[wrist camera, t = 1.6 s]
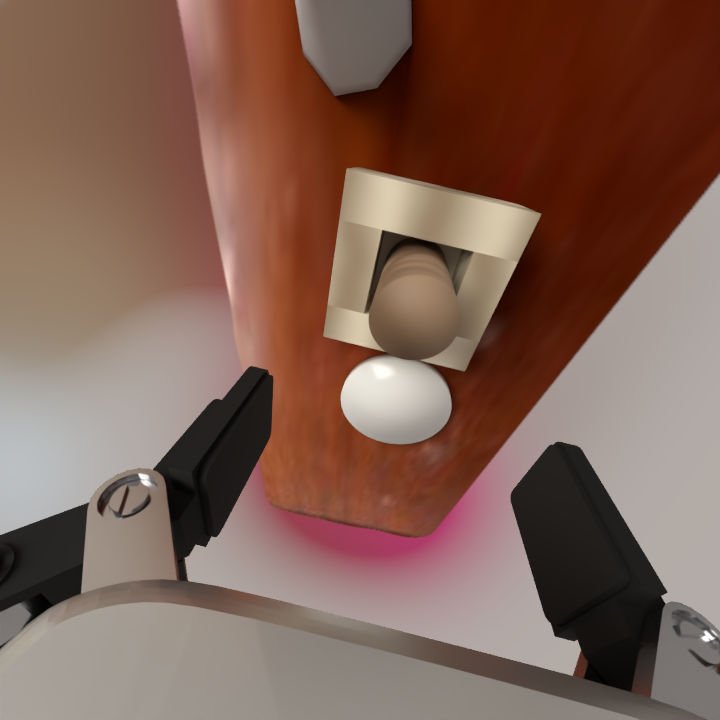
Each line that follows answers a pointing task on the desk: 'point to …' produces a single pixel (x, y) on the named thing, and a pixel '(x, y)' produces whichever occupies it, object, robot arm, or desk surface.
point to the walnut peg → (415, 302)
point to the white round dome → (396, 399)
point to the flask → (354, 40)
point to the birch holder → (432, 223)
